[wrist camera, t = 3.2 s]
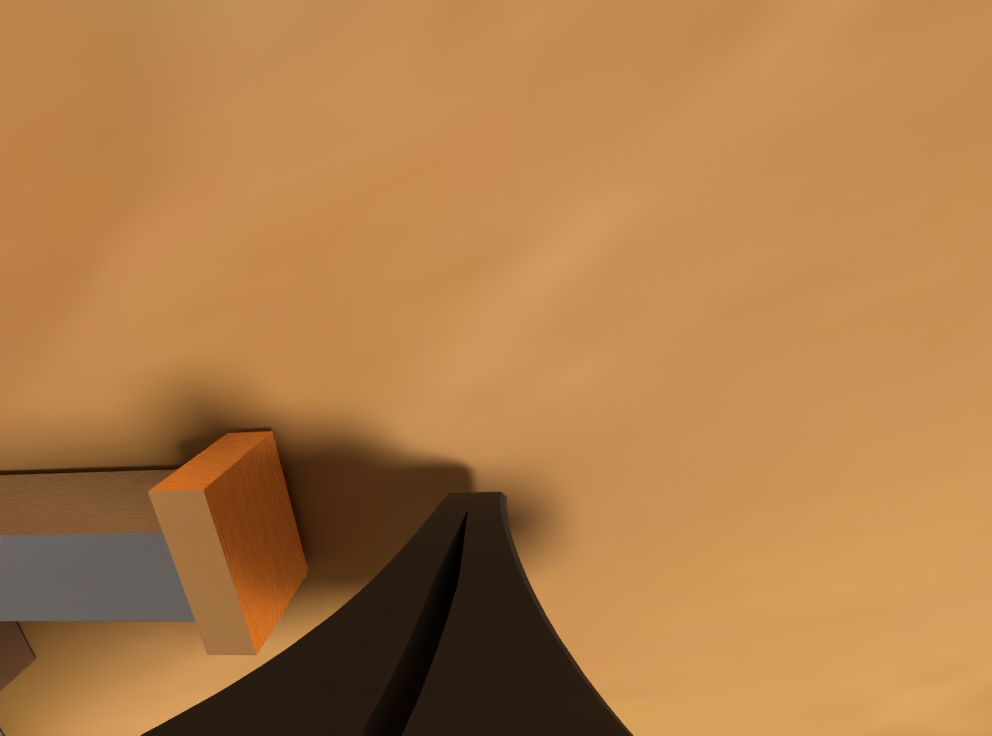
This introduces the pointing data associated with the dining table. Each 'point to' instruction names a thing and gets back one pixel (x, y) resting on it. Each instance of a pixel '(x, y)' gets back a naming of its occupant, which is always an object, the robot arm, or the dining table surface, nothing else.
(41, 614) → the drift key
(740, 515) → the dining table surface
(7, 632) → the socket block
